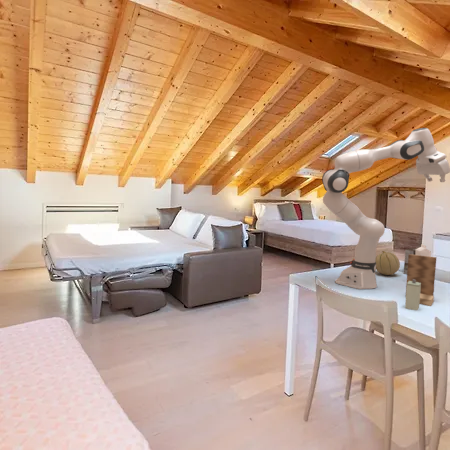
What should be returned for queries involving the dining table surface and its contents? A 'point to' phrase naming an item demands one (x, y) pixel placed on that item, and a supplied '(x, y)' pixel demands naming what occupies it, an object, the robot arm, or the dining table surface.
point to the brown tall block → (423, 276)
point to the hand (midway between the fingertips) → (436, 181)
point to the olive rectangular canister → (413, 295)
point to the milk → (423, 251)
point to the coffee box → (407, 252)
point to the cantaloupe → (387, 263)
